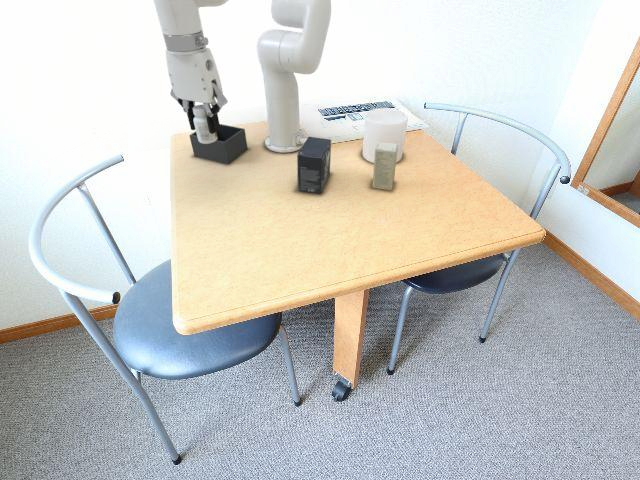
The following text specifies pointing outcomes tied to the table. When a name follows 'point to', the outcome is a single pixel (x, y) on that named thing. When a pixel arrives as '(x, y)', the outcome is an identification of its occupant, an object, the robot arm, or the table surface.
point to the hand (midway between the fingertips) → (205, 128)
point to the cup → (384, 130)
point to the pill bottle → (202, 125)
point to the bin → (221, 145)
